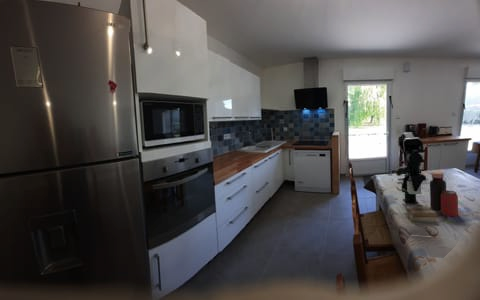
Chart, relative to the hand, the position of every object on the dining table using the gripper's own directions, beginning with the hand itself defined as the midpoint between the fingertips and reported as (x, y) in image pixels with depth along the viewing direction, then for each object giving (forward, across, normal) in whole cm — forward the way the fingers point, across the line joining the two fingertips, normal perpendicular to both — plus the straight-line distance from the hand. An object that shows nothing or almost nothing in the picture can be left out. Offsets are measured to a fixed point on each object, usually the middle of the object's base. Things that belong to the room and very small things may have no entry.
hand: (414, 190), depth 128 cm
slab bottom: (+12, +9, 0) cm, 15 cm away
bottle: (+12, -6, +12) cm, 18 cm away
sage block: (+2, 0, 0) cm, 2 cm away
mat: (+12, +9, 0) cm, 15 cm away
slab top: (+10, +9, 0) cm, 13 cm away
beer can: (+12, +2, +14) cm, 19 cm away
